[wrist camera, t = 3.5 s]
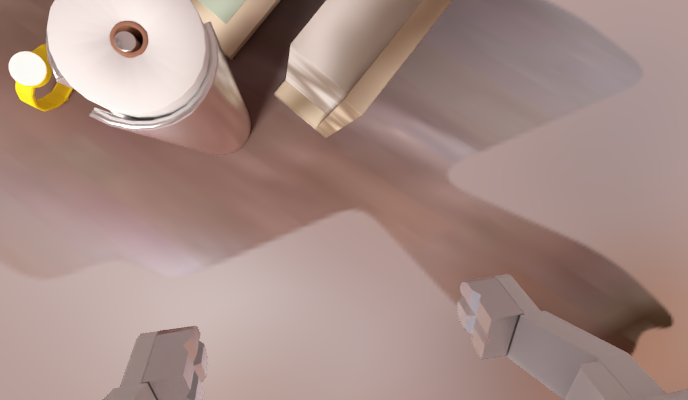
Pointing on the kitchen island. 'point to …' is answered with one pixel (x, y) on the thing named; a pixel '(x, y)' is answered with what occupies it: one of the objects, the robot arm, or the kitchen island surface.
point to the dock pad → (234, 20)
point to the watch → (36, 79)
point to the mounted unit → (352, 56)
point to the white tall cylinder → (149, 70)
